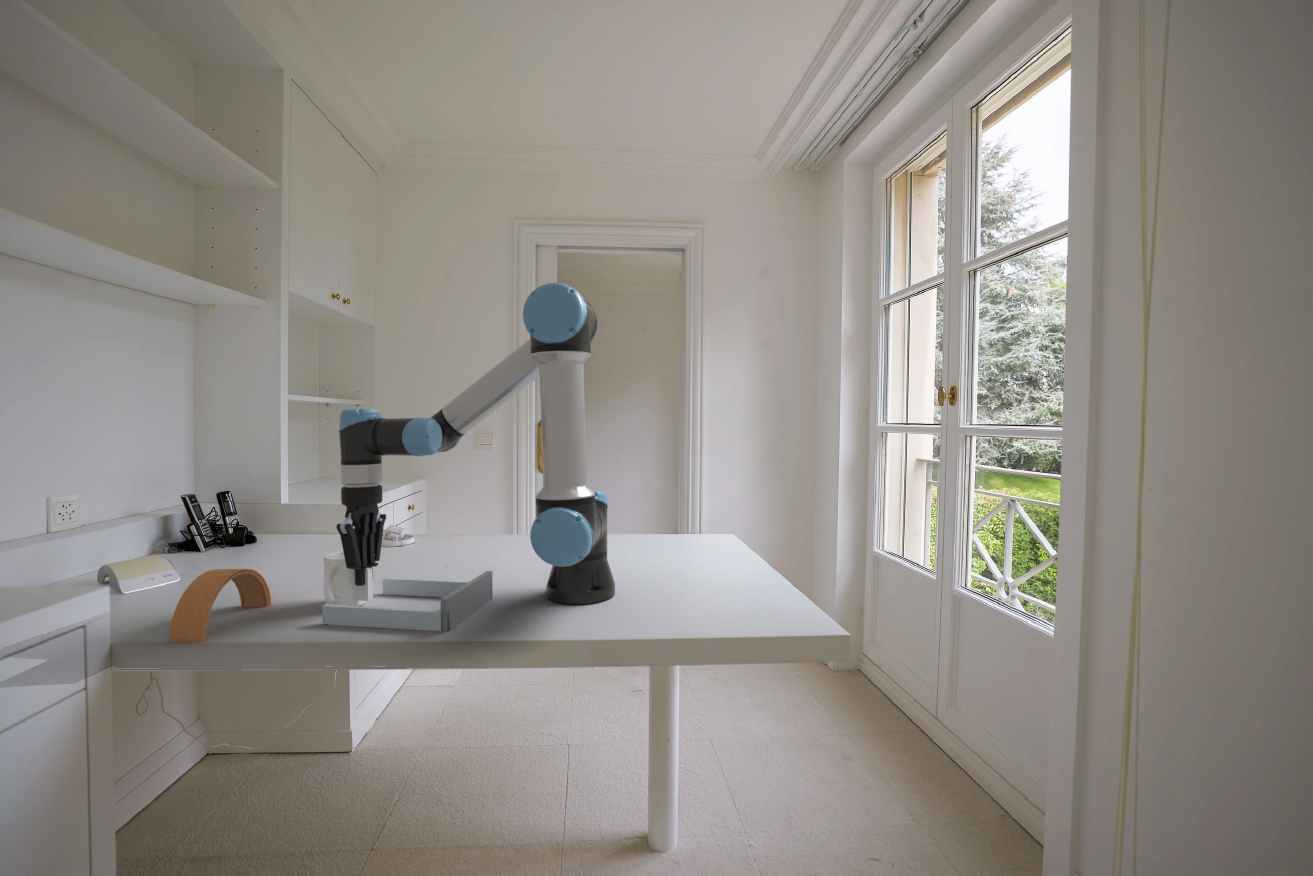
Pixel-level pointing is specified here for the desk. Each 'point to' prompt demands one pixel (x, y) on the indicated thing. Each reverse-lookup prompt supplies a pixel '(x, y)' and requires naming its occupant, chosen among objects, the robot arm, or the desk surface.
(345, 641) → the desk surface
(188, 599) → the arch
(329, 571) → the mug
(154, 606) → the desk surface
